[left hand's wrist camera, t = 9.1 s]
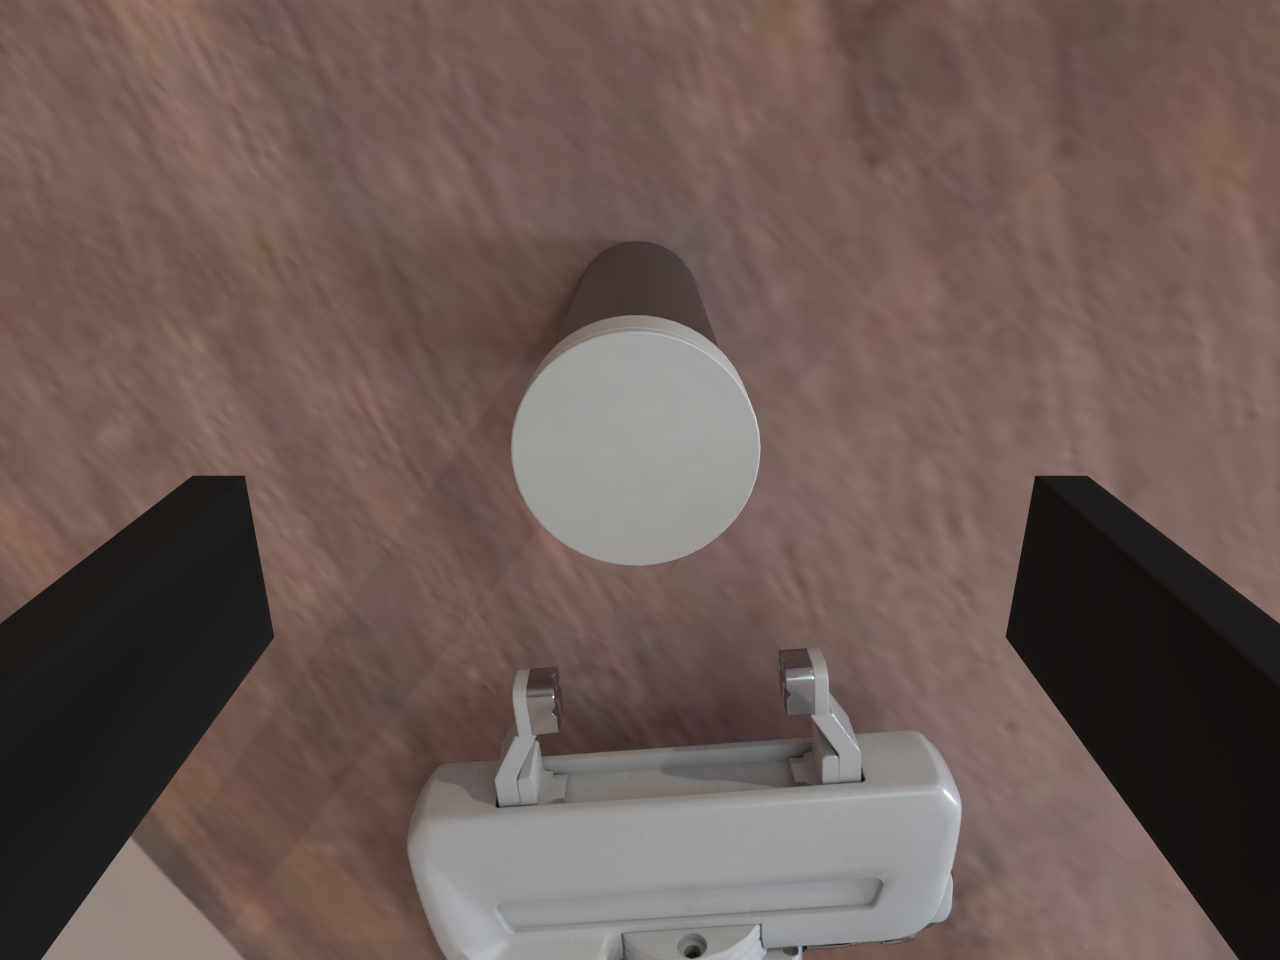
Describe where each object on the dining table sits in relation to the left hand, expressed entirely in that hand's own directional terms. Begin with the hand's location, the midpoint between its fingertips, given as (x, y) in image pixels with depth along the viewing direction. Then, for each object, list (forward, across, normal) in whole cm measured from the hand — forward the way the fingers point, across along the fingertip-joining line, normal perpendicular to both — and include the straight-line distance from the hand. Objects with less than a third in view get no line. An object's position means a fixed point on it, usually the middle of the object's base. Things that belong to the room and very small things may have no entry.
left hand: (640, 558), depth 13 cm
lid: (+5, 0, 0) cm, 5 cm away
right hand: (+14, -1, +12) cm, 18 cm away
